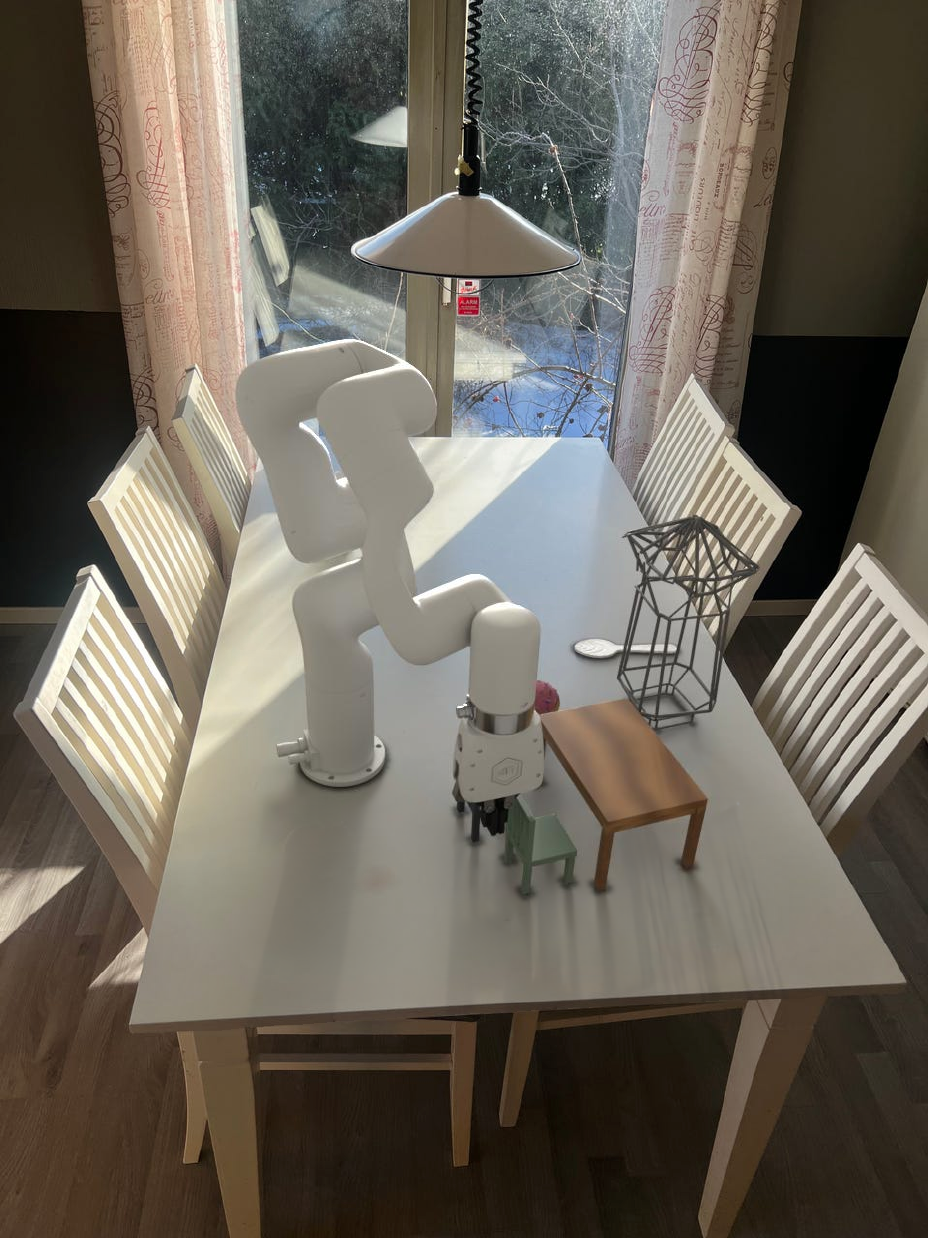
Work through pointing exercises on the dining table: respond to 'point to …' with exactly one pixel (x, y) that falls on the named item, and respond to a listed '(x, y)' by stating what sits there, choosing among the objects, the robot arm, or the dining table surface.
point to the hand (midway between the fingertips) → (493, 827)
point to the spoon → (615, 648)
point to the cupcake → (546, 698)
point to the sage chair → (537, 842)
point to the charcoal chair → (475, 818)
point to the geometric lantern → (685, 529)
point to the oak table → (623, 774)
